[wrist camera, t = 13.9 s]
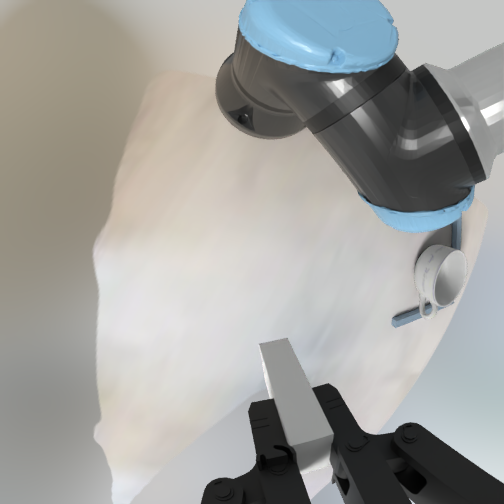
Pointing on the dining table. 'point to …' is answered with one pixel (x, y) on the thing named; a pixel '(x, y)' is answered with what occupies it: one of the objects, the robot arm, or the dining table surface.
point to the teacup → (439, 277)
